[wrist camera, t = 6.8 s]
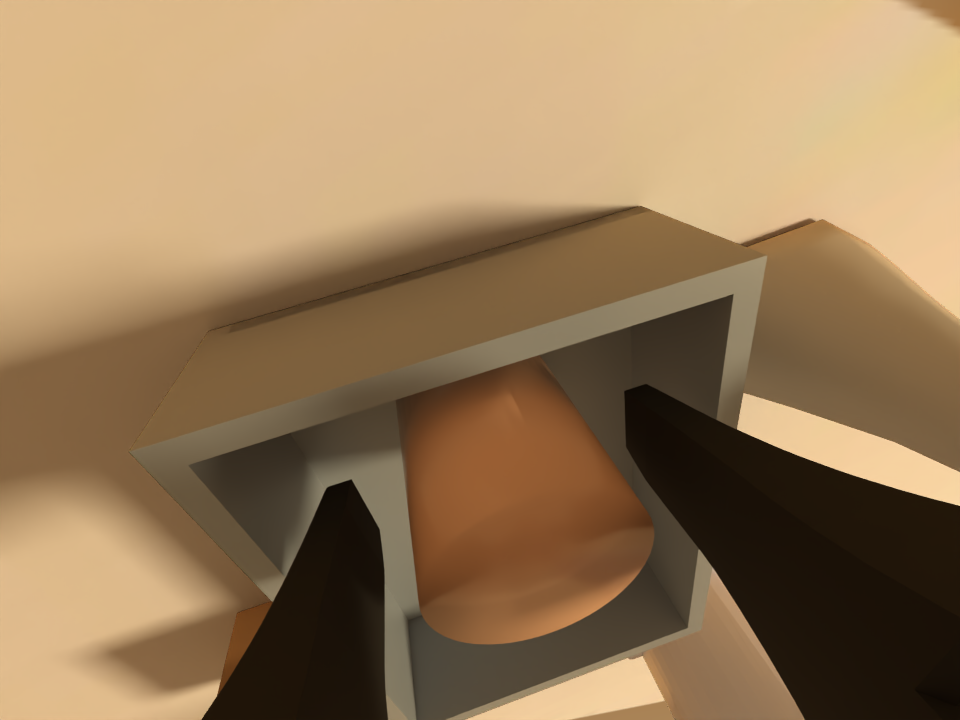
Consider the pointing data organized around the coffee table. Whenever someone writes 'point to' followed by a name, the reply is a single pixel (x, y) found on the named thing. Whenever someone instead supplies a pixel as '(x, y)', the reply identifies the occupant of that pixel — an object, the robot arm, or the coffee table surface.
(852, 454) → the coffee table surface
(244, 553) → the slate tote
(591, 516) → the terracotta cylinder
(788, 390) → the flask
